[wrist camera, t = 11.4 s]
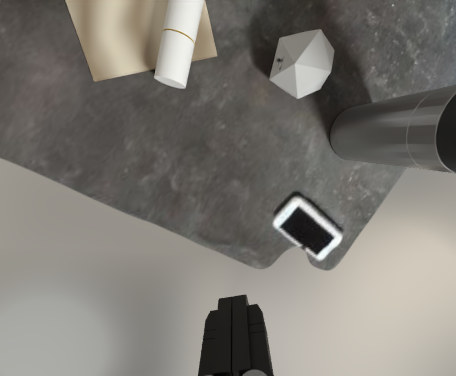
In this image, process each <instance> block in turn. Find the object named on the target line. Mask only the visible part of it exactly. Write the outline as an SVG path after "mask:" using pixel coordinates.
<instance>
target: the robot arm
mask: <svg viewBox="0 0 456 376" xmlns="http://www.w3.org/2000/svg"><path fill="white" fill-rule="evenodd" d="M330 141H331V146H332V148H333V150H334V151H335V153H336V154H337V155H338V156H339V157H341V158H343V159H346V160H353V161H361V162H368V163H376V164H384V165H392V166H400V167H408V168H416V169H423V170H433V171H441V172H448V173H456V85H452V86H447V87H443V88H439V89H434V90H429V91H425V92H420V93H415V94H411V95H406V96H401V97H397V98H392V99H387V100H383V101H378V102H374V103H368V104H364V105H359V106H355V107H351V108H348V109H346V110H344V111H343V112H342V113H340V114H339V115H338V117H337V118H336V119H335V121H334V123H333V125H332V128H331V132H330ZM198 376H274V375H273V369H272V363H271V356H270V350H269V344H268V337H267V331H266V327H265V322H264V318H263V313H262V311H261V309H260V308H259V306H258V305H257V304H254V305H249V304H248V300H247V296H246V295H240V296H234V297H227V298H220V299H219V301H218V310H214V311H210V313H209V315H208V317H207V319H206V321H205V328H204V336H203V343H202V350H201V358H200V365H199V373H198Z"/></svg>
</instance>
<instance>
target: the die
mask: <svg viewBox="0 0 456 376" xmlns="http://www.w3.org/2000/svg"><path fill="white" fill-rule="evenodd" d="M334 51H335V50H334V49H333V47H332V46H331V44H330V43H329V41H328V40H327V38H326V37H325V35H324V34H323V32H322V30H321V29H318V30H312V31H305V32H301V33H297V34H293V35H289V36H285V37H281V38H279V42H278V46H277V50H276V54H275V58H274V62H273V66H272V70H271V74H270V78H269V80H271V81H272V82H273V83H275V84H276V85H277V86H278V87H280V88H281V89H282V90H284V91H285V92H286V93H288V94H290V95H292V96H293V97H295V98H297V99H299V98H301V97H303V96H306V95H308V94H310V93H313V92H315V91H317V90H320V89H321V87H322V85H323V84H324V82H325V81H326V79H327V77H328V76H329V74H330V72H331V69H332V63H333V57H334Z"/></svg>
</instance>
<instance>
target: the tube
mask: <svg viewBox="0 0 456 376" xmlns="http://www.w3.org/2000/svg"><path fill="white" fill-rule="evenodd" d="M203 3H204V0H169V1H168V6H167V11H166V17H165V22H164V27H163V33H162V38H161V43H160V49H159V54H158V59H157V65H156V70H155V75H154V78H155V79H156V80H158V81H160V82H162V83H164V84H167V85H169V86H172V87H176V88H182V89H184V88H185V87H186V83H187V78H188V73H189V69H190V64H191V59H192V55H193V50H194V45H195V41H196V36H197V31H198V26H199V22H200V17H201V12H202V8H203Z"/></svg>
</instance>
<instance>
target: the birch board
mask: <svg viewBox="0 0 456 376" xmlns="http://www.w3.org/2000/svg"><path fill="white" fill-rule="evenodd" d="M65 1H66V3H67V6H68V9H69V12H70V15H71V18H72V20H73V23H74V26H75V29H76V32H77V34H78V37H79V40H80V43H81V46H82V49H83V51H84V54H85V57H86V60H87V63H88V65H89V68H90V71H91V74H92V77H93V80H94V81H95V82H96V81H100V80H105V79H110V78H115V77H120V76H125V75H129V74H134V73H139V72H144V71H149V70H154V69H156V65H157V59H158V54H159V49H160V43H161V38H162V33H163V27H164V22H165V17H166V11H167V6H168V1H169V0H65ZM216 56H217V53H216V48H215V44H214V39H213V34H212V30H211V25H210V21H209V16H208V12H207V7H206V3H205V0H204V3H203V8H202V12H201V17H200V22H199V26H198V31H197V36H196V41H195V45H194V50H193V55H192V59H191V62H192V61H197V60H202V59H207V58H211V57H216Z"/></svg>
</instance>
